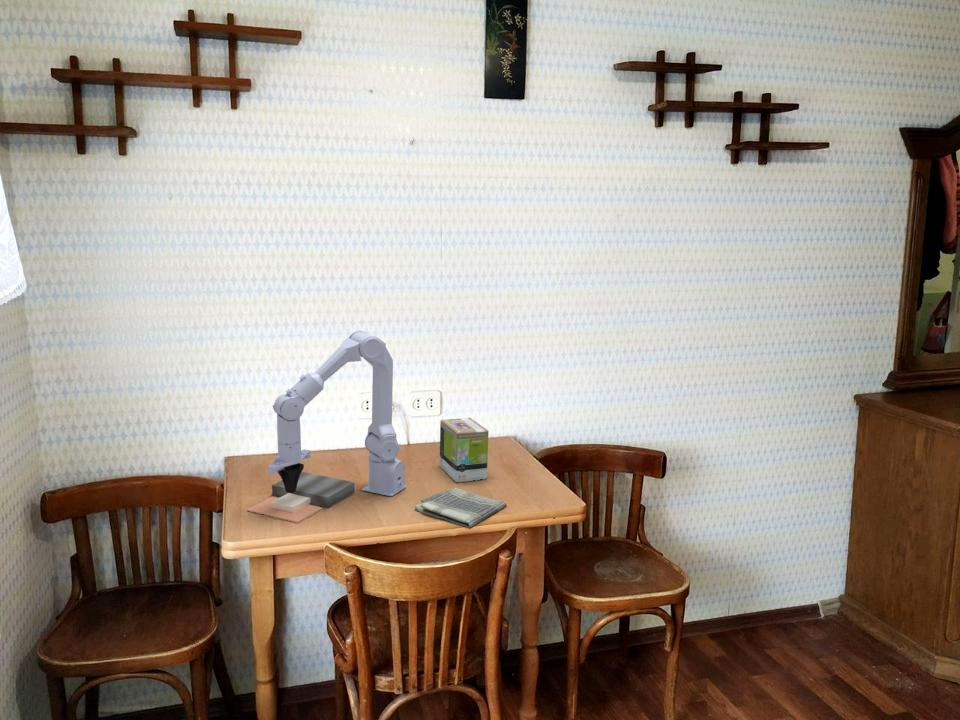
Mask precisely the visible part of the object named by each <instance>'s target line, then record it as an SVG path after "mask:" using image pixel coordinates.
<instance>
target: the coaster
mask: <svg viewBox="0 0 960 720" xmlns="http://www.w3.org/2000/svg"><path fill="white" fill-rule="evenodd" d="M310 503H311V498H310V497H305V496H301V495H296V494H291V493H288V494H286V495H284V496H282V497H278V499H276V500H274V501H272V502H271V508H275V509H280V510H284V511H288V512H293V513H294V512H296V511H298V510H299V509H301V508H303V507H305V506H307V505H308V504H309V505H311V504H310Z"/></svg>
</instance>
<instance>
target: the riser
mask: <svg viewBox="0 0 960 720" xmlns="http://www.w3.org/2000/svg"><path fill="white" fill-rule="evenodd" d="M355 493H356V492H355V481H349V480H344V479H341V478H340V479H339V478H335V477H330V476H326V475H319V474H316V473H310V472H306V471H305V472H304V471H302V472H301V474H300V477H299V480H298V483H297V488H296V492H294V493H291V494H296V495H301V496H305V497H310V498H311V503H310V504H309V505H313V506H318V507H320V506H321V507H322V508H324V507H326V508H325V509H329V507H330V508H331V507H333V506H334V504H335V505H336V504H338V503H340V502H342V501H344V500H345V499H347V498H348V497H351V496H352V495H353V494H355ZM286 494H288V493H287V492H286V490H285V486H284V483H283V481H282V480H280V481H277V482H276V483H274V484H271V495H272V496H273V497H278V498H280V497H282V496H284V495H286ZM272 496H271V497H272Z"/></svg>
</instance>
